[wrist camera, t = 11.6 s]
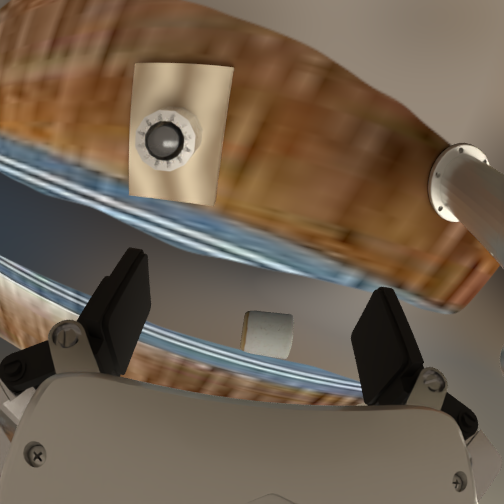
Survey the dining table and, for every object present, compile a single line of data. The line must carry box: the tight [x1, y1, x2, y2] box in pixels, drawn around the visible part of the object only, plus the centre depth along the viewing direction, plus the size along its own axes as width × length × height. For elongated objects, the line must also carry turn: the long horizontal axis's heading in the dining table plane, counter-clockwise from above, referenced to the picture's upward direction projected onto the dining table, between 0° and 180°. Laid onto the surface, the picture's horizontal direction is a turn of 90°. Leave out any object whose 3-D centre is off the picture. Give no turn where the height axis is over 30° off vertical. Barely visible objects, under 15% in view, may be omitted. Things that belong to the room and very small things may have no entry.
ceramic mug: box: [240, 311, 294, 359], centre depth 49 cm, size 11×8×8 cm
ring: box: [135, 106, 203, 171], centre depth 32 cm, size 7×7×4 cm
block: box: [129, 63, 234, 206], centre depth 34 cm, size 12×18×2 cm, turn 171°
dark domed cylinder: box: [148, 121, 185, 157], centre depth 31 cm, size 3×3×4 cm
